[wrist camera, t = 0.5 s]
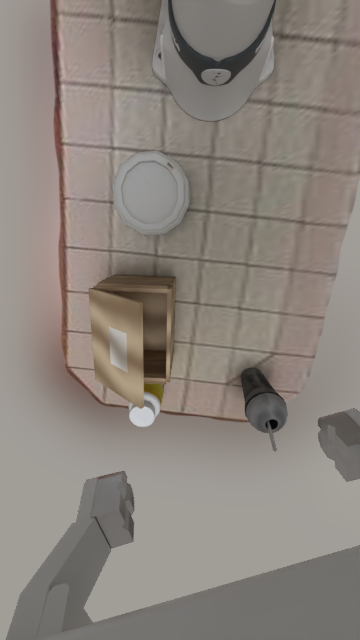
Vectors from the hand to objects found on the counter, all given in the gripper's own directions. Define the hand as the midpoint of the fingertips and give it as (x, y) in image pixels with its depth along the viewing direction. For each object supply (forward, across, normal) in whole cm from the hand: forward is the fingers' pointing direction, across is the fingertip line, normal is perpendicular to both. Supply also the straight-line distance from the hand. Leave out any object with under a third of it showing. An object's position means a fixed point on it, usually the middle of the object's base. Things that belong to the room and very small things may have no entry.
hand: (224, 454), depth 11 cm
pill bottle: (+44, +8, +25) cm, 52 cm away
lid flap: (+30, +9, +8) cm, 32 cm away
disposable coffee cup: (+46, -3, -10) cm, 47 cm away
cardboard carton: (+45, +5, +9) cm, 46 cm away
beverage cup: (+41, -14, +27) cm, 51 cm away
